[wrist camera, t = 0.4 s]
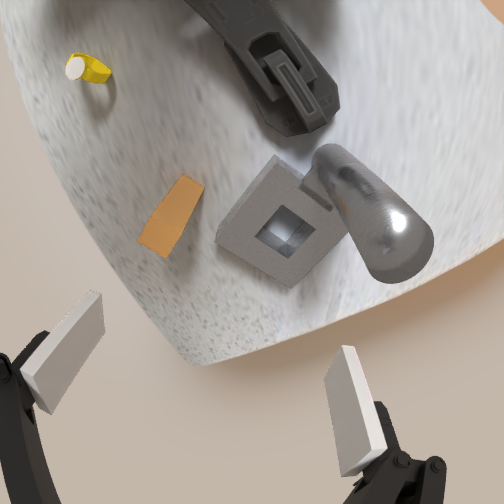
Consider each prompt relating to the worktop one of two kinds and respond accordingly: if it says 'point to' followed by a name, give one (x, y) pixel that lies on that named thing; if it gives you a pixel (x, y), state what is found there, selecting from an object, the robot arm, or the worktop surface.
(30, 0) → the worktop surface
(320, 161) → the grey l-shaped piece
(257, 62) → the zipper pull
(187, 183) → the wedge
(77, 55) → the watch
